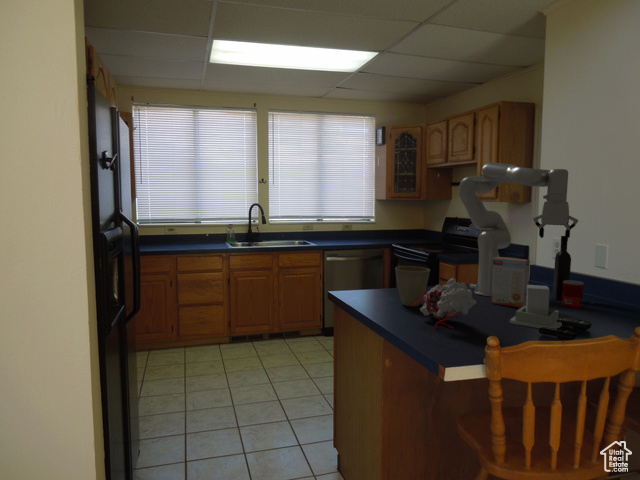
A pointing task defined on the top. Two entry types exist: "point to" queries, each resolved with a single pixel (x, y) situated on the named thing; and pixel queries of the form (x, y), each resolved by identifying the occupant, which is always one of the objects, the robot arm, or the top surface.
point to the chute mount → (536, 319)
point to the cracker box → (510, 281)
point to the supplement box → (537, 299)
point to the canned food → (572, 294)
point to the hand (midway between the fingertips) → (554, 238)
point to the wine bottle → (561, 269)
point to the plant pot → (411, 283)
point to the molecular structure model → (447, 300)
